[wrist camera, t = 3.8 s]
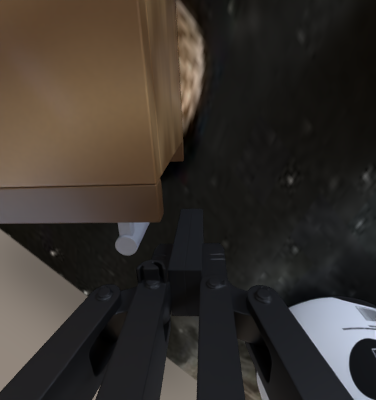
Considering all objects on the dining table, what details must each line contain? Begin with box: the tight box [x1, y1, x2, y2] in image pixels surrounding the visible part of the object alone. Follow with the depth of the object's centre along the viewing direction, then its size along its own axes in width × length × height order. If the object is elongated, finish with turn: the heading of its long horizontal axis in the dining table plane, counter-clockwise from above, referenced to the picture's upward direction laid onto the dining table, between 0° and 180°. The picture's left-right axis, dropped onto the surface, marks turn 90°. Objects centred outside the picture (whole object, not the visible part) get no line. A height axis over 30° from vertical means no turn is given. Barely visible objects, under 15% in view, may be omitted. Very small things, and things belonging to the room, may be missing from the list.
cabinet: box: [0, 0, 184, 224], centre depth 15 cm, size 14×20×13 cm
